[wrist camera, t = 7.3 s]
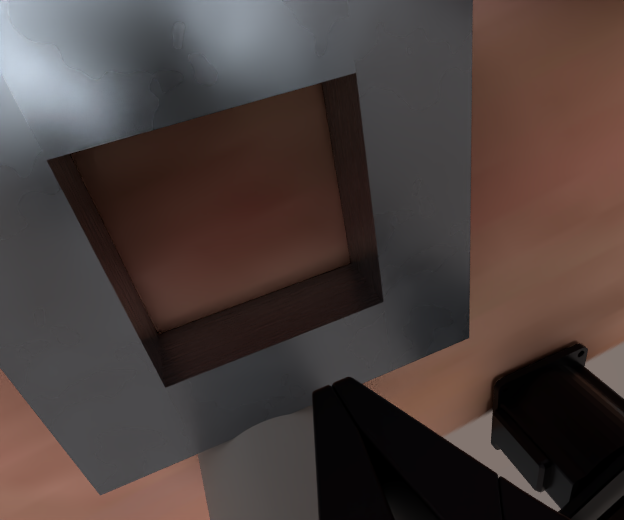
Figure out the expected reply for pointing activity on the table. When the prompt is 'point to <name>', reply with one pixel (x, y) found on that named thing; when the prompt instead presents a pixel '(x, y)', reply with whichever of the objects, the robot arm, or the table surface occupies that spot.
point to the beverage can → (264, 472)
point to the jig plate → (259, 312)
